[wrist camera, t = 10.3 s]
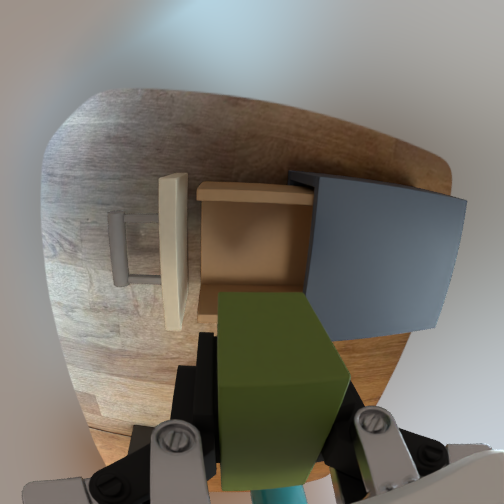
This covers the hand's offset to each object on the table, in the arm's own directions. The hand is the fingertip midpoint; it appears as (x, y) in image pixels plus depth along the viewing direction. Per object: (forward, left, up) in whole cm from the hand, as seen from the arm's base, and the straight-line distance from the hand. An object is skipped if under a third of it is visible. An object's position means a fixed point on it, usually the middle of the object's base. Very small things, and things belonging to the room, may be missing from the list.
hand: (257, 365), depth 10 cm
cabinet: (0, +12, -18) cm, 21 cm away
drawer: (0, -1, -17) cm, 17 cm away
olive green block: (0, 0, 0) cm, 0 cm away
